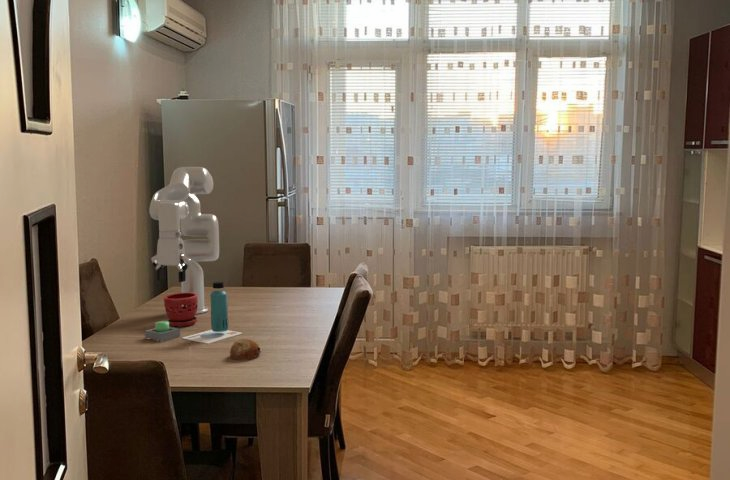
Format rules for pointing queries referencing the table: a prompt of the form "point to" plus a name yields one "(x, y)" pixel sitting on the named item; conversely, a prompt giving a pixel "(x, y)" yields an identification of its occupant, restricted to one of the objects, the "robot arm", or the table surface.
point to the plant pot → (181, 308)
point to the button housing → (162, 334)
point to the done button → (162, 326)
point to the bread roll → (244, 350)
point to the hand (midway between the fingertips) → (171, 280)
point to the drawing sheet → (211, 336)
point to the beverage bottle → (219, 308)
